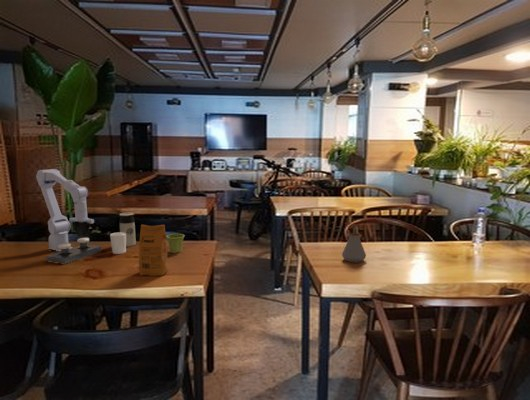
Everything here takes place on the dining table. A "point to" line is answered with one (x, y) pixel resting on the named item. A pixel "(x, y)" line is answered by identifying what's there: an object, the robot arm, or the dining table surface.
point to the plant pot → (175, 242)
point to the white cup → (118, 242)
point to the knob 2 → (83, 242)
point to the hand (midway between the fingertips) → (82, 236)
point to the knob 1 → (64, 248)
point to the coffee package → (153, 250)
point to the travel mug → (128, 228)
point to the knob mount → (74, 254)
